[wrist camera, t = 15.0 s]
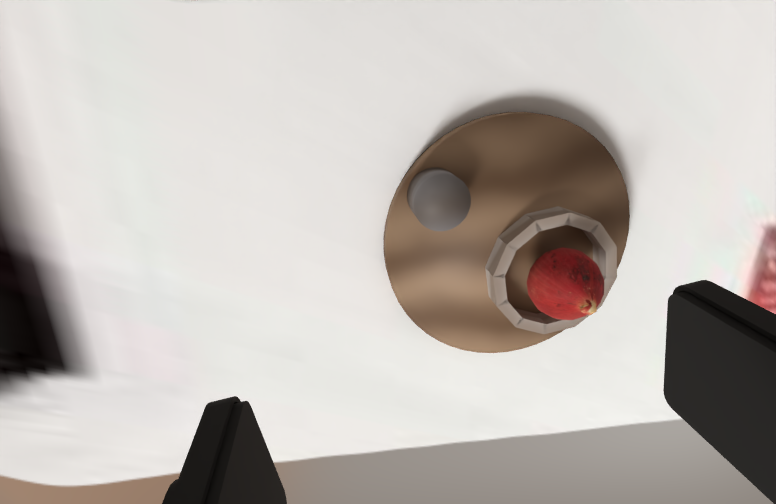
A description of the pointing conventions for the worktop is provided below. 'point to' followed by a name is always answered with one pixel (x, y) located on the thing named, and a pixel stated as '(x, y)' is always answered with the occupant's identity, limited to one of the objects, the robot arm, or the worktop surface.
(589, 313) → the red rounded piece
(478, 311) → the carrier plate
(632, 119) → the worktop surface
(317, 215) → the worktop surface
